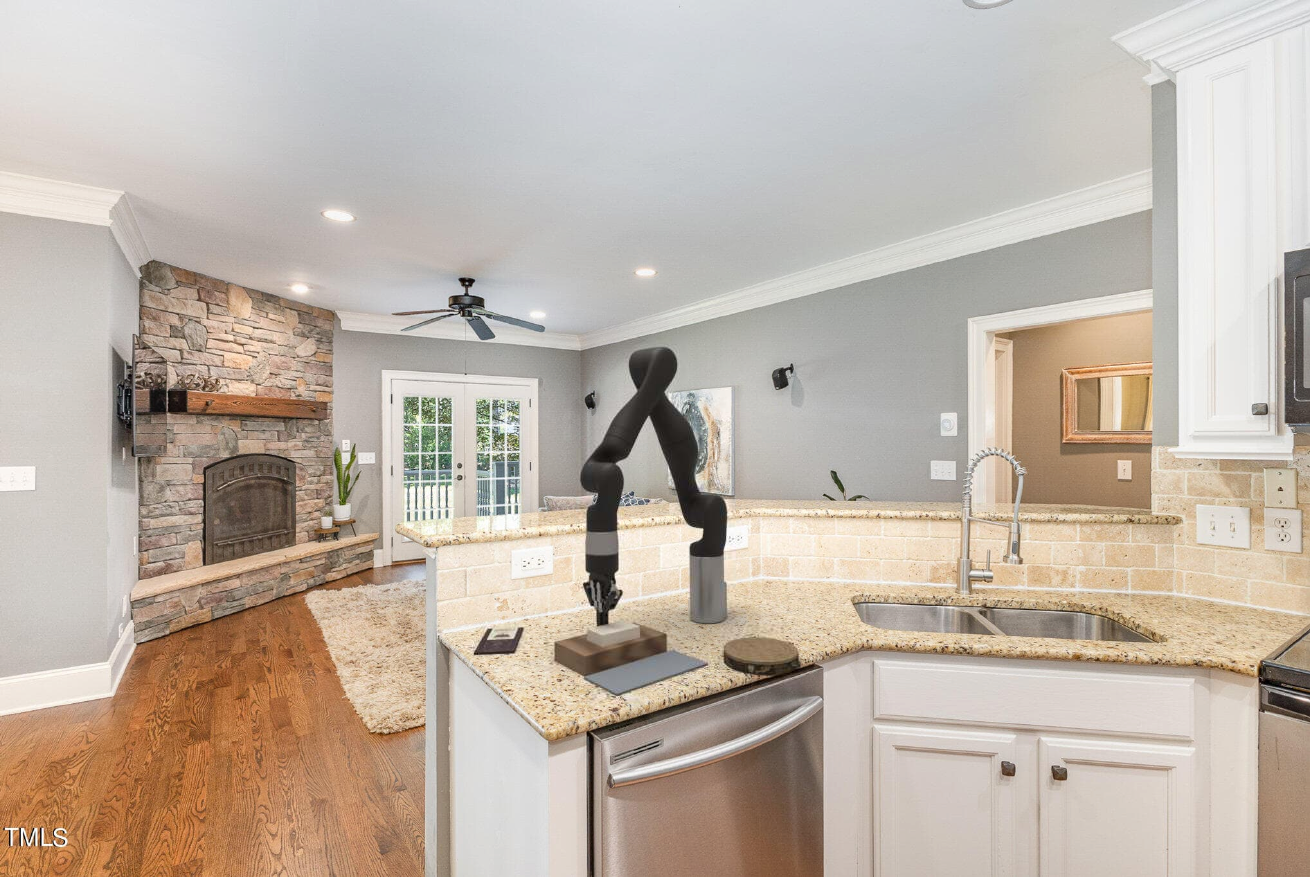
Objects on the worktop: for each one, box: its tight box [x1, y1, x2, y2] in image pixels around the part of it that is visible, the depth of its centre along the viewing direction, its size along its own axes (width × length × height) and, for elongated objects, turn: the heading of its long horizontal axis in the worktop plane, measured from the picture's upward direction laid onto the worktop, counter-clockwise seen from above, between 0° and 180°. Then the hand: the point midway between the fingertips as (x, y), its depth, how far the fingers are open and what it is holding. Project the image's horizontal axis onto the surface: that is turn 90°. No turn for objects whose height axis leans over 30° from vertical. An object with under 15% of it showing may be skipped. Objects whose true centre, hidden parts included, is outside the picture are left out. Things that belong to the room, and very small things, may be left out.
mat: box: [583, 649, 709, 697], centre depth 125 cm, size 24×11×1 cm, turn 130°
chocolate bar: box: [473, 626, 525, 656], centre depth 145 cm, size 9×1×18 cm
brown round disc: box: [723, 636, 800, 677], centre depth 130 cm, size 16×16×3 cm
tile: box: [586, 620, 640, 647], centre depth 134 cm, size 10×6×2 cm, turn 129°
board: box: [553, 622, 668, 677], centre depth 135 cm, size 22×12×4 cm, turn 130°
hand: (602, 627), depth 137 cm, fingers closed
